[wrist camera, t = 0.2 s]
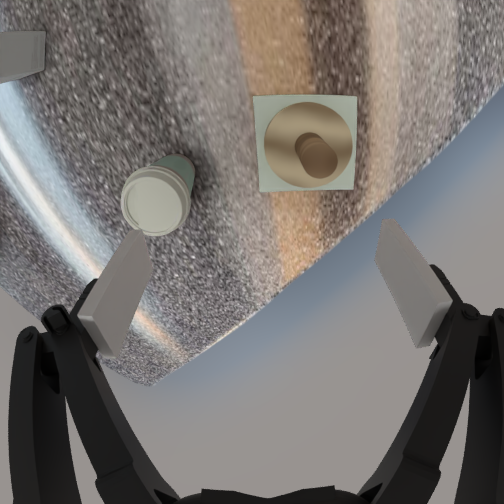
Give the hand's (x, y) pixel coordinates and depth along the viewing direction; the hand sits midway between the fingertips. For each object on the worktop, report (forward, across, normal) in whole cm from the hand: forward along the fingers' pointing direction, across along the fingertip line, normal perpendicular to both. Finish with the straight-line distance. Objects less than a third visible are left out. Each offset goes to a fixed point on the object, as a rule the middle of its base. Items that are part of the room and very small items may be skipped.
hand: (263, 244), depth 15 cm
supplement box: (+27, -36, +22) cm, 50 cm away
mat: (+27, +7, -1) cm, 28 cm away
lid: (+26, +7, -1) cm, 27 cm away
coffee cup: (+27, -12, -4) cm, 30 cm away
